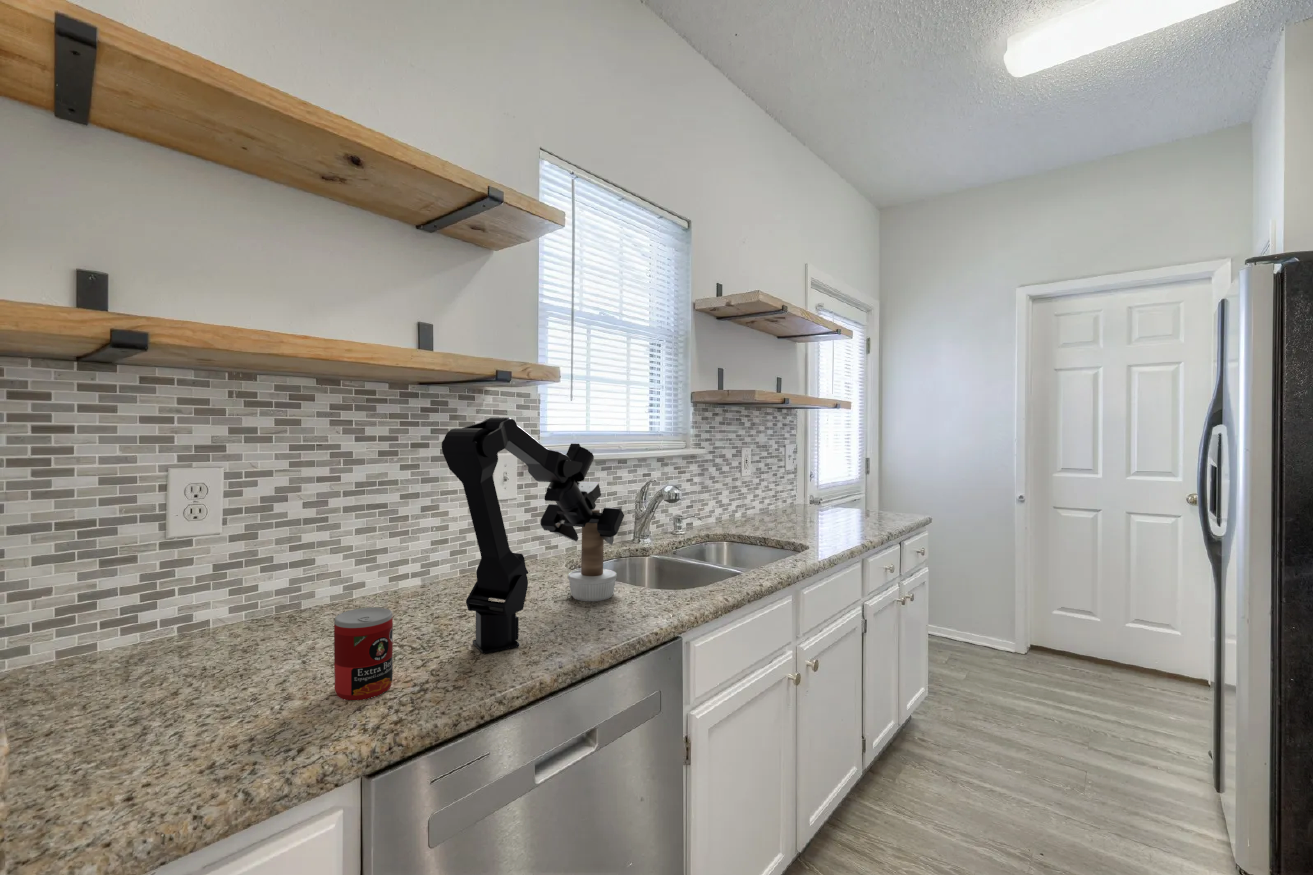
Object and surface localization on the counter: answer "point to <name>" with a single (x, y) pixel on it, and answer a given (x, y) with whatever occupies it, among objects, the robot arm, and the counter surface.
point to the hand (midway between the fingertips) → (594, 541)
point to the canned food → (363, 653)
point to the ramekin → (592, 585)
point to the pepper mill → (592, 550)
